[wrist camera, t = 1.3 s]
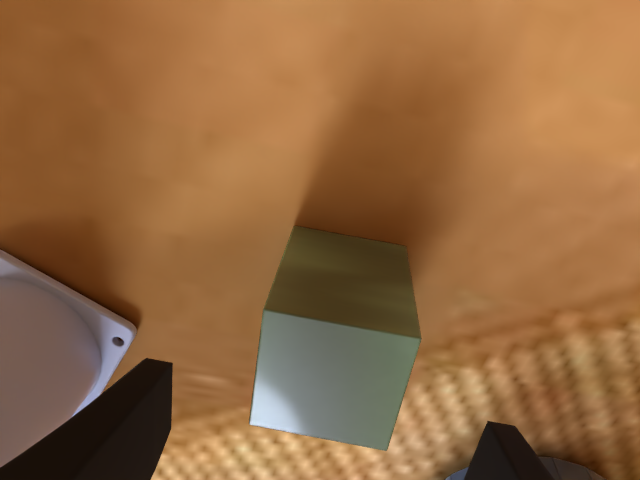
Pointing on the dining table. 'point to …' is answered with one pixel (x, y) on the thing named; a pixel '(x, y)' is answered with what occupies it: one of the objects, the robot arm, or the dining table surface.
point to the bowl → (552, 470)
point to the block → (336, 339)
